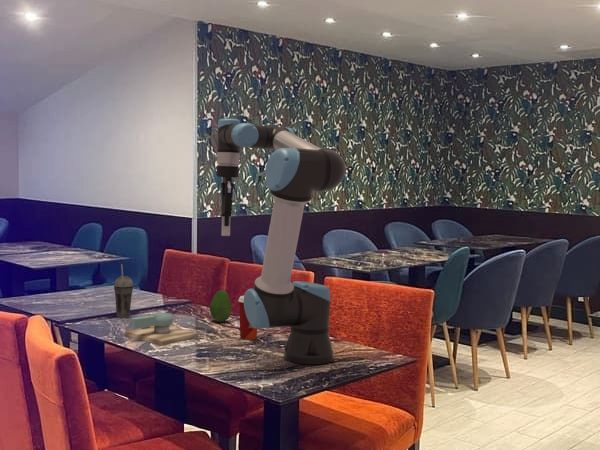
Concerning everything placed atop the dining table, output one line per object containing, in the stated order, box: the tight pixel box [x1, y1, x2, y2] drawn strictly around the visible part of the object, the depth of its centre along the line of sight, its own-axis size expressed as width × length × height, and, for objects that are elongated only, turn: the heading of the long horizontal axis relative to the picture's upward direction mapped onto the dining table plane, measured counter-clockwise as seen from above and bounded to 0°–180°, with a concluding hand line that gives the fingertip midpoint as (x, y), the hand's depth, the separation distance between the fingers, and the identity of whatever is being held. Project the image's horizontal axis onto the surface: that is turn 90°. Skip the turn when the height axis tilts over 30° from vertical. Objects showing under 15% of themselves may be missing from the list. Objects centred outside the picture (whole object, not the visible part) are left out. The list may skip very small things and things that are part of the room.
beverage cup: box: [113, 263, 134, 319], centre depth 258 cm, size 7×7×20 cm
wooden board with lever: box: [124, 325, 199, 346], centre depth 231 cm, size 18×16×4 cm
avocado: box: [209, 289, 232, 323], centre depth 257 cm, size 8×8×12 cm
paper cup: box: [237, 295, 259, 341], centre depth 234 cm, size 8×8×14 cm
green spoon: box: [130, 312, 174, 330], centre depth 228 cm, size 14×7×3 cm, turn 134°
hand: (225, 235), depth 233 cm, fingers closed
